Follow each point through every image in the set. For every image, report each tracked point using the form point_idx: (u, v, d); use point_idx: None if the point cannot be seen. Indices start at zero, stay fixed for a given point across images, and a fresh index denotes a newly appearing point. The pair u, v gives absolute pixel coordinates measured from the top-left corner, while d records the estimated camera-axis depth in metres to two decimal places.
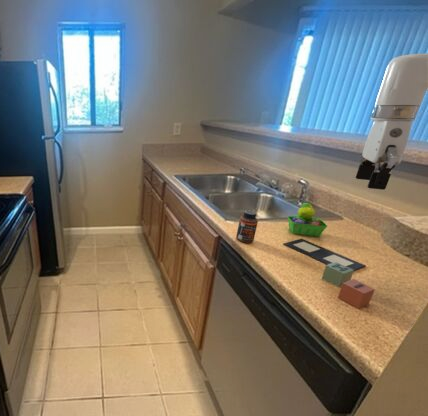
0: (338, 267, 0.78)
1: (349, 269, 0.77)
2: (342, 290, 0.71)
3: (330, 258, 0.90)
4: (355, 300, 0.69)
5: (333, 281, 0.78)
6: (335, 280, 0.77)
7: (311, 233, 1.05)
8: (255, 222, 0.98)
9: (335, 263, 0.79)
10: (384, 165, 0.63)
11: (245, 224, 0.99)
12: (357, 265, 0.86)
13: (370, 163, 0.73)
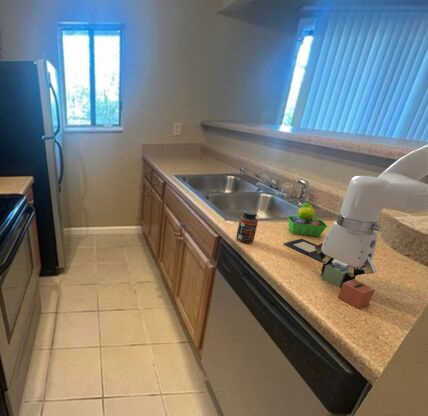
0: (338, 267, 0.78)
1: None
2: (342, 290, 0.71)
3: None
4: (355, 300, 0.69)
5: (333, 281, 0.78)
6: (335, 280, 0.77)
7: (311, 233, 1.05)
8: (255, 222, 0.98)
9: (335, 263, 0.79)
10: (362, 272, 0.72)
11: (245, 224, 0.99)
12: None
13: (331, 261, 0.80)
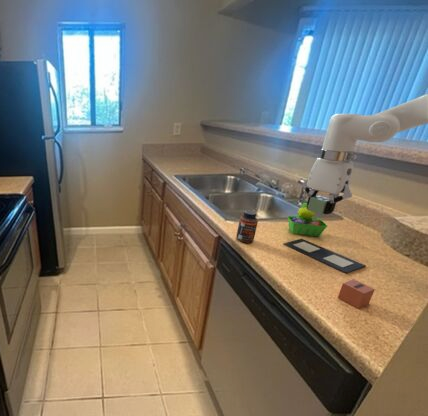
0: (321, 198, 0.89)
1: None
2: (342, 290, 0.71)
3: (330, 258, 0.90)
4: (355, 300, 0.69)
5: (316, 210, 0.89)
6: (318, 209, 0.89)
7: (311, 233, 1.05)
8: (255, 222, 0.98)
9: (319, 196, 0.91)
10: (340, 198, 0.84)
11: (245, 224, 0.99)
12: (357, 265, 0.86)
13: (315, 194, 0.92)
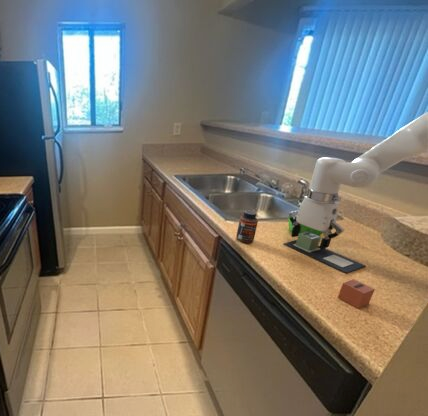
0: (308, 235, 0.95)
1: (317, 236, 0.94)
2: (342, 290, 0.71)
3: (330, 258, 0.90)
4: (355, 300, 0.69)
5: (304, 246, 0.95)
6: (305, 245, 0.95)
7: None
8: (255, 222, 0.98)
9: (306, 232, 0.97)
10: (335, 235, 0.87)
11: (245, 224, 0.99)
12: (357, 265, 0.86)
13: (298, 225, 0.99)
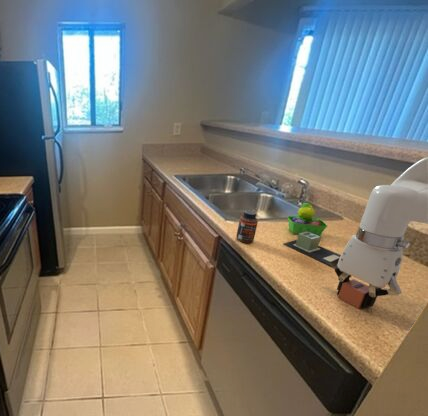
0: (308, 235, 0.95)
1: (317, 236, 0.94)
2: (342, 290, 0.71)
3: (330, 258, 0.90)
4: (355, 300, 0.69)
5: (304, 246, 0.95)
6: (305, 245, 0.95)
7: None
8: (255, 222, 0.98)
9: (306, 232, 0.97)
10: (385, 293, 0.64)
11: (245, 224, 0.99)
12: None
13: (348, 278, 0.72)
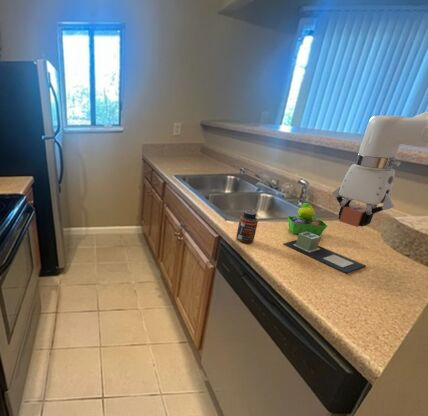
0: (308, 235, 0.95)
1: (317, 236, 0.94)
2: (343, 213, 0.82)
3: (330, 258, 0.90)
4: (354, 220, 0.80)
5: (304, 246, 0.95)
6: (305, 245, 0.95)
7: None
8: (255, 222, 0.98)
9: (306, 232, 0.97)
10: (380, 209, 0.75)
11: (245, 224, 0.99)
12: (357, 265, 0.86)
13: (348, 204, 0.83)
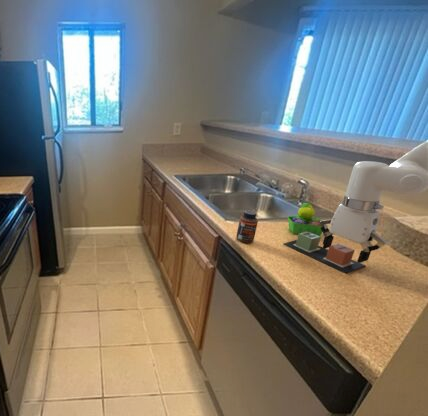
0: (308, 235, 0.95)
1: (317, 236, 0.94)
2: (329, 252, 0.88)
3: None
4: (338, 259, 0.86)
5: (304, 246, 0.95)
6: (305, 245, 0.95)
7: None
8: (255, 222, 0.98)
9: (306, 232, 0.97)
10: (377, 247, 0.78)
11: (245, 224, 0.99)
12: (357, 265, 0.86)
13: (331, 235, 0.90)
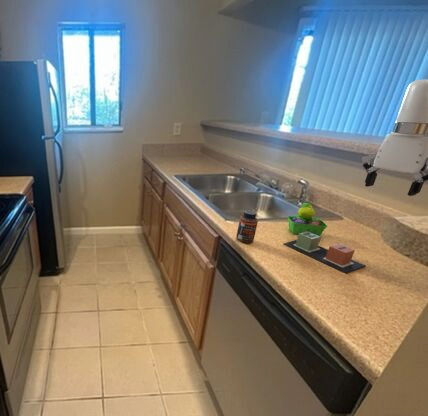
0: (308, 235, 0.95)
1: (317, 236, 0.94)
2: (329, 252, 0.88)
3: None
4: (338, 259, 0.86)
5: (304, 246, 0.95)
6: (305, 245, 0.95)
7: None
8: (255, 222, 0.98)
9: (306, 232, 0.97)
10: None
11: (245, 224, 0.99)
12: (357, 265, 0.86)
13: (375, 171, 0.82)
